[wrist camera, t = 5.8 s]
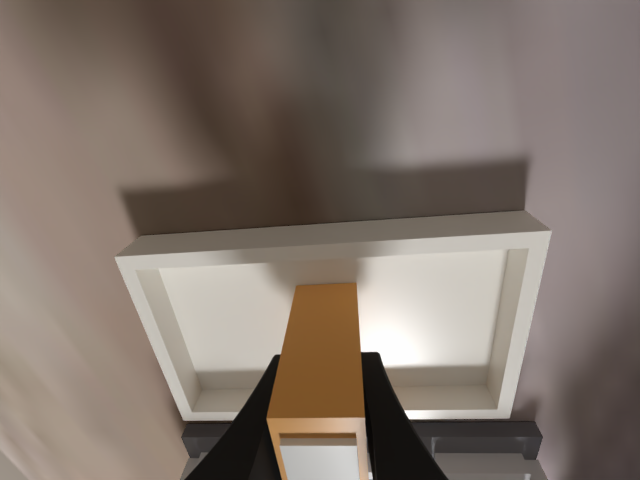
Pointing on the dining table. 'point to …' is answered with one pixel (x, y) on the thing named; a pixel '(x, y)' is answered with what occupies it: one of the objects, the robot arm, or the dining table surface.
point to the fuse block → (435, 448)
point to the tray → (373, 305)
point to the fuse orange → (320, 388)
